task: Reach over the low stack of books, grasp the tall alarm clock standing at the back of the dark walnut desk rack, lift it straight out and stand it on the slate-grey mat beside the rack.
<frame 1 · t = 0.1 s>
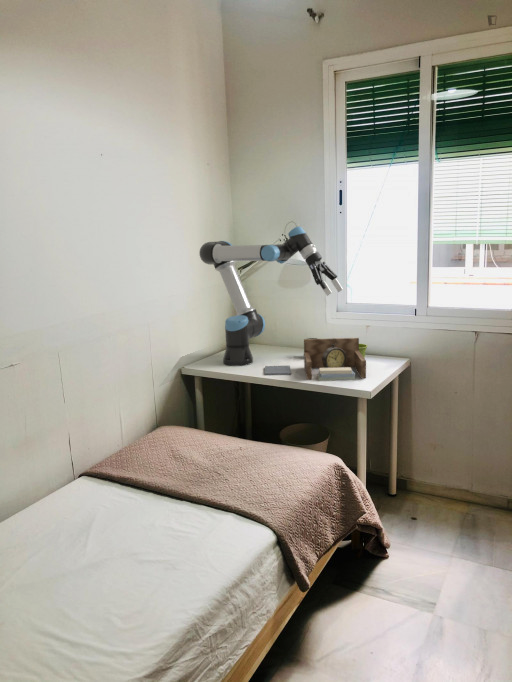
hand: (335, 292, 251), 36 cm above the table, tool tilted 35°, fingers open, 13 cm apart
mug: (315, 358, 276), on the table
plant pot: (357, 362, 263), on the table
alarm clock: (333, 372, 246), on the table
desk rack: (333, 372, 246), on the table
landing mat: (277, 370, 252), on the table
book stack: (336, 378, 237), on the table
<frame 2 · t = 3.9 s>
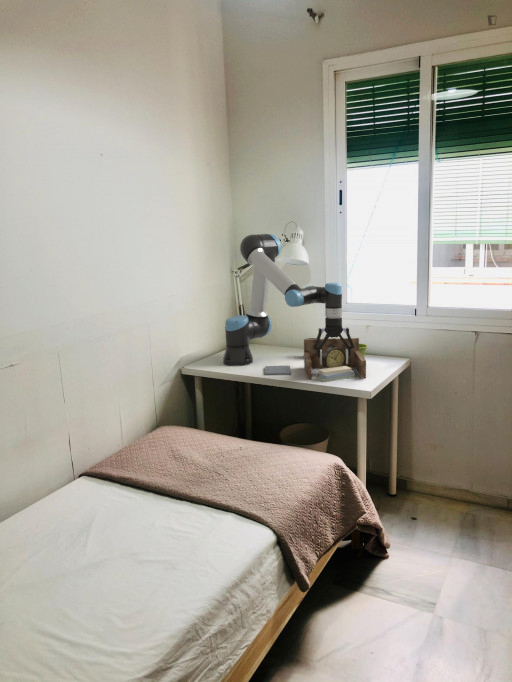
hand: (333, 363, 245), 4 cm above the table, tool pointing down, fingers closed on alarm clock, 11 cm apart
alarm clock: (333, 372, 246), on the table, touching gripper
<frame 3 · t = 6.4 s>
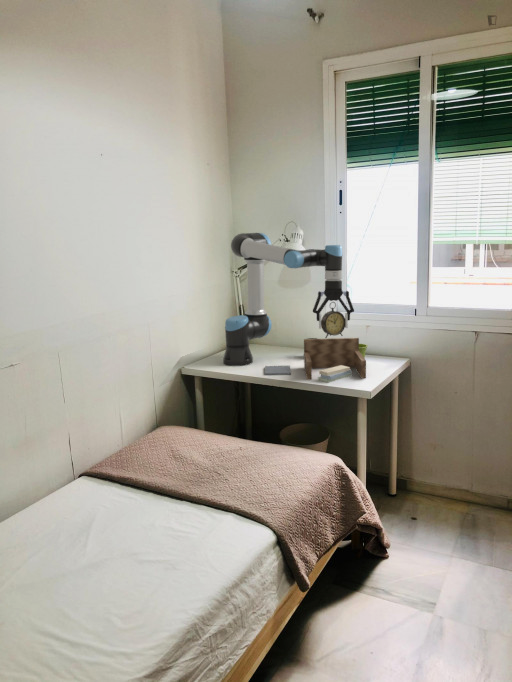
hand: (333, 327, 242), 21 cm above the table, tool pointing down, fingers closed on alarm clock, 11 cm apart
alarm clock: (332, 337, 243), point 17 cm above the table, touching gripper
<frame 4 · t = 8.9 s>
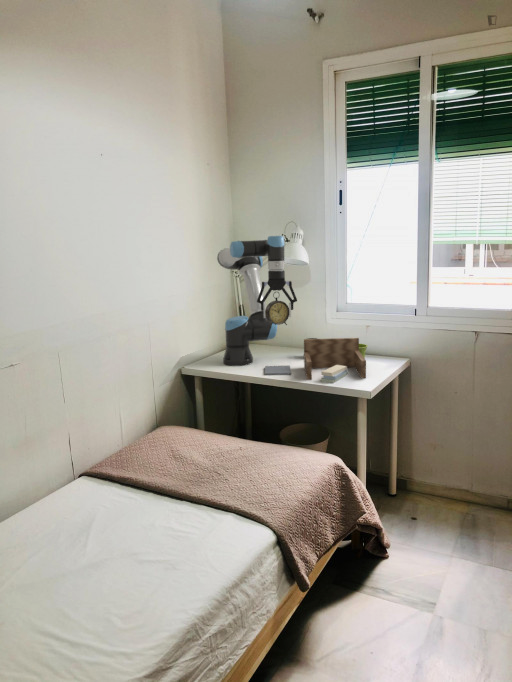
hand: (277, 317, 247), 26 cm above the table, tool pointing down, fingers closed on alarm clock, 11 cm apart
alarm clock: (277, 326, 248), point 21 cm above the table, touching gripper
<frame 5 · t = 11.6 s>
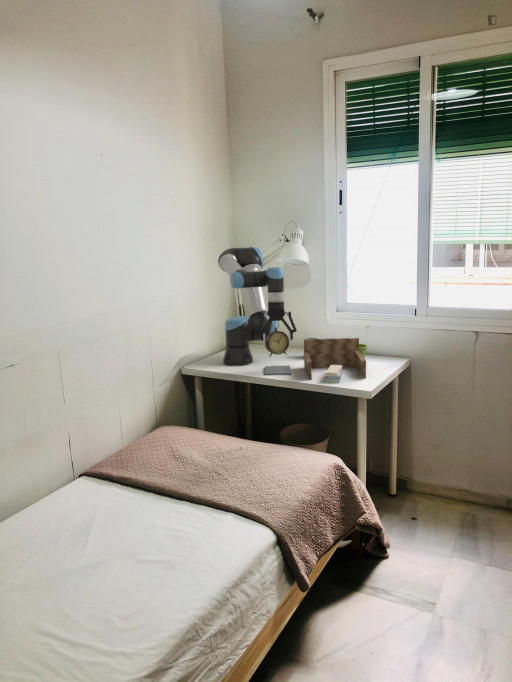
hand: (277, 347, 249), 12 cm above the table, tool pointing down, fingers closed on alarm clock, 11 cm apart
alarm clock: (276, 356, 250), point 7 cm above the table, touching gripper
when the fingers open (6 cm above the table, at t = 13.8 s): alarm clock drops 1 cm, resting on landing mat.
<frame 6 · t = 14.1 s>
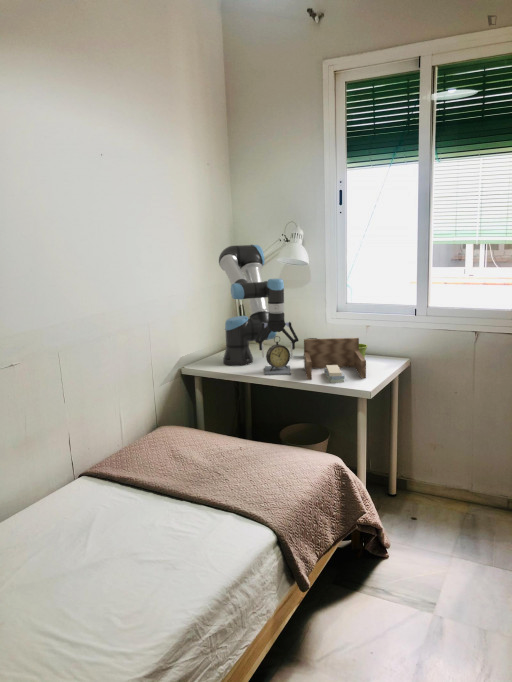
hand: (277, 356, 250), 7 cm above the table, tool pointing down, fingers open, 13 cm apart
alarm clock: (277, 369, 252), point 1 cm above the table, touching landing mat
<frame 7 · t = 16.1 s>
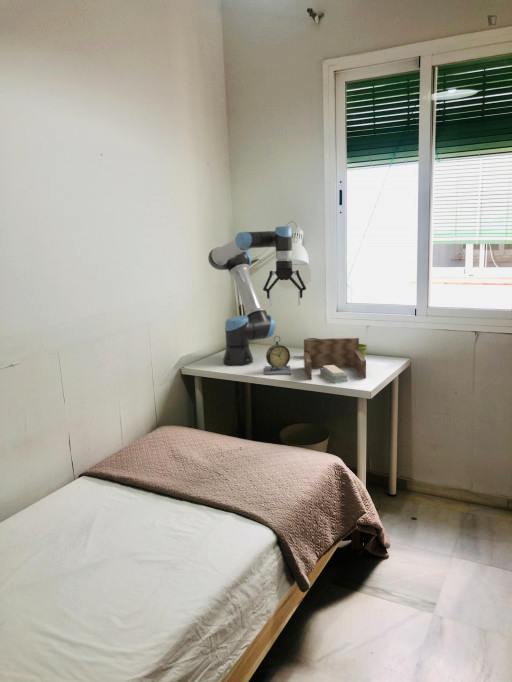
hand: (284, 305, 251), 31 cm above the table, tool pointing down, fingers open, 13 cm apart
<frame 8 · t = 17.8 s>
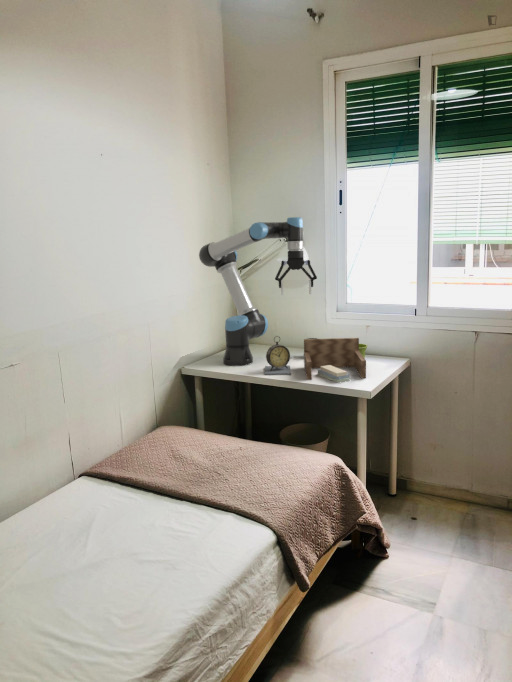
hand: (296, 294, 258), 35 cm above the table, tool pointing down, fingers open, 13 cm apart
at the end: alarm clock inside the target area (0.2 cm from its centre), point 0.6 cm above the table; alarm clock tilted 0°; the gripper is holding nothing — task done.
